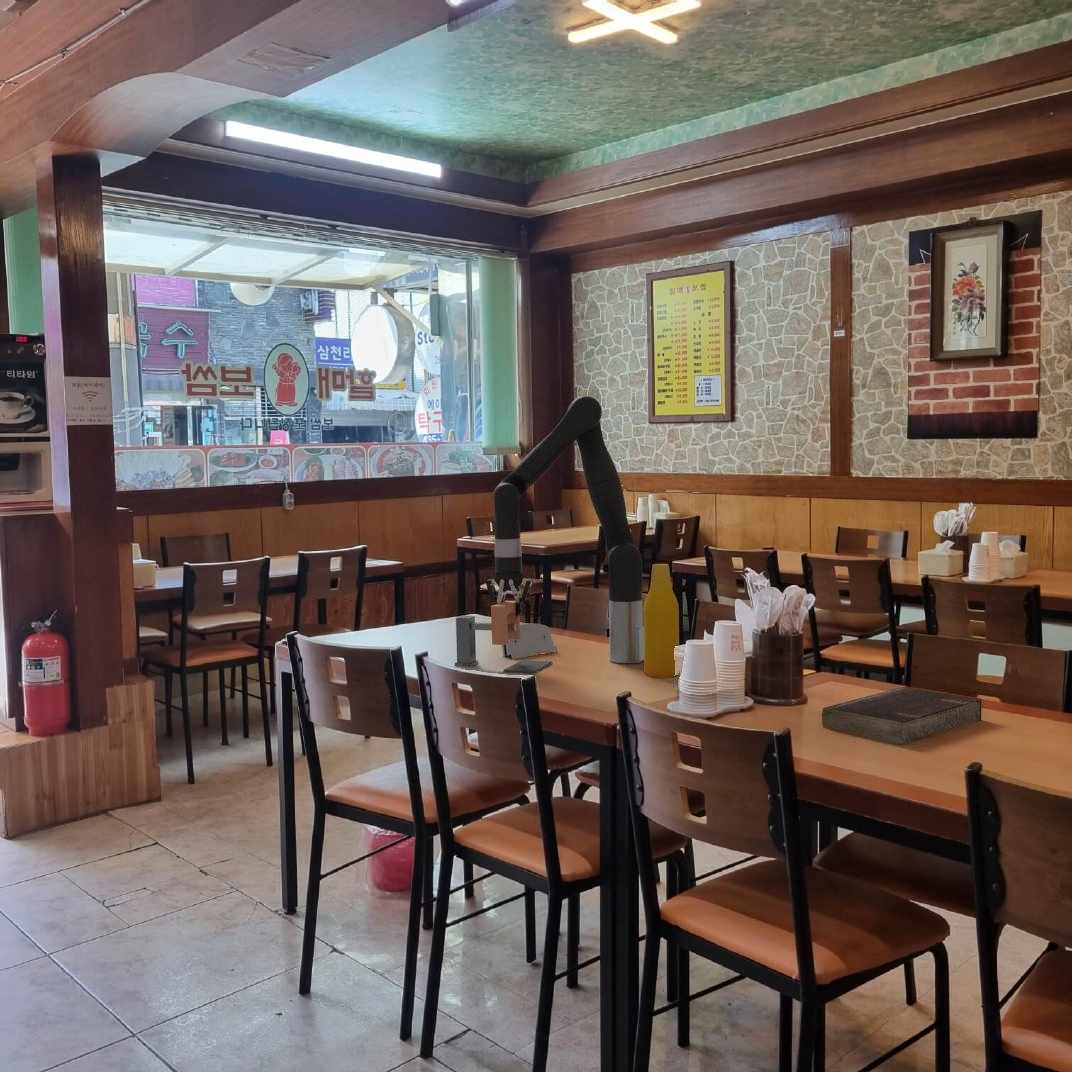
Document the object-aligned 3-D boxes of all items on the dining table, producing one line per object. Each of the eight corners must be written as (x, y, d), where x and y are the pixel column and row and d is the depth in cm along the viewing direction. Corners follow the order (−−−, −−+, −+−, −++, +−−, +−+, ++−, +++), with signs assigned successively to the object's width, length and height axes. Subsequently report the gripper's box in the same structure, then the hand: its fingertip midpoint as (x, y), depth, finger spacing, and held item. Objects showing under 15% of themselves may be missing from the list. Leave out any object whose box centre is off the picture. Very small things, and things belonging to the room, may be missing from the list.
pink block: (520, 638, 292) (519, 600, 292) (505, 644, 282) (504, 606, 281) (507, 637, 294) (505, 600, 293) (492, 644, 283) (490, 606, 283)
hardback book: (902, 706, 235) (902, 685, 235) (981, 722, 220) (981, 698, 220) (822, 729, 217) (821, 705, 217) (901, 747, 202) (901, 722, 202)
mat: (552, 663, 291) (552, 661, 291) (534, 673, 278) (534, 671, 278) (522, 662, 294) (522, 660, 294) (503, 671, 281) (503, 669, 281)
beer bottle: (678, 678, 268) (677, 566, 266) (642, 678, 270) (640, 566, 267) (680, 671, 277) (679, 562, 275) (646, 670, 279) (644, 562, 276)
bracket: (519, 665, 290) (518, 617, 289) (513, 668, 285) (511, 619, 284) (462, 662, 296) (460, 615, 295) (454, 665, 291) (453, 617, 290)
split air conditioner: (511, 659, 299) (504, 625, 301) (503, 662, 303) (496, 628, 305) (558, 651, 309) (551, 619, 311) (549, 655, 313) (542, 622, 315)
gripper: (536, 553, 290) (538, 614, 292) (489, 553, 295) (491, 613, 297) (527, 556, 283) (529, 618, 285) (479, 556, 288) (481, 617, 290)
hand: (510, 615), depth 291 cm, fingers closed on pink block, 4 cm apart
